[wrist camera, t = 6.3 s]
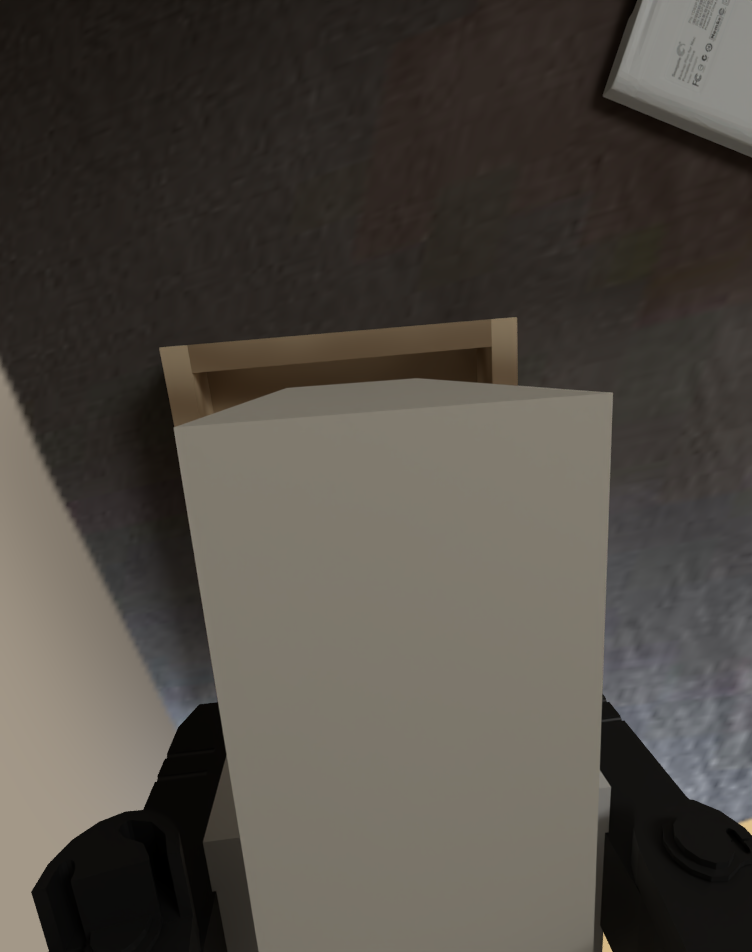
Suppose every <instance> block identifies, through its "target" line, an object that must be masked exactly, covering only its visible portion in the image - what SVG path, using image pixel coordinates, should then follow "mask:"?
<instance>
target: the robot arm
mask: <svg viewBox="0 0 752 952" xmlns="http://www.w3.org/2000/svg"><path fill="white" fill-rule="evenodd" d="M31 893H32V896H33V899H34V903H35V906H36V909H37V913H38V916H39V919H40V922H41V926H42V929H43V932H44V936H45V939H46V942H47V946H48V949H49V952H259V951H258V945H257V939H256V933H255V927H254V920H253V914H252V908H251V902H250V896H249V890H248V883H247V877H246V871H245V865H244V859H243V853H242V846H241V840H240V834H239V828H238V822H237V816H236V809H235V803H234V797H233V791H232V785H231V779H230V773H229V766H228V760H227V754H226V748H225V742H224V736H223V729H222V723H221V717H220V711H219V705H218V702H216V703H208V704H199V706H198V707H197V708H196V709H195V710H194V711H193V712H192V713H191V714H190V715H189V716H188V717H187V719H186V720H185V721H184V722H183V723H182V724H181V725H180V726H179V727H178V729H177V732H176V734H175V736H174V739H173V741H172V744H171V746H170V748H169V751H168V753H167V759H165V760H164V762H163V765H162V767H161V769H160V772H159V774H158V780H157V782H155V783H154V786H153V788H152V790H151V793H150V795H149V797H148V800H147V802H146V804H145V807H144V809H143V810H138V811H128V812H123V813H121V814H118V815H116V816H113V817H111V818H108V819H105V820H103V821H100V822H98V823H97V824H95V825H94V826H92V827H91V828H89V829H88V830H86V831H85V832H83V833H82V834H80V835H79V836H77V837H76V838H74V839H73V840H72V841H71V842H70V843H69V844H68V845H67V846H66V847H65V848H64V849H63V850H62V851H61V852H60V853H59V854H58V855H57V856H56V857H55V858H54V859H53V860H52V861H51V862H50V863H49V864H48V865H47V867H46V869H45V870H44V872H43V874H42V875H41V877H40V879H39V880H38V882H37V883H36V885H35V887H34V888H33V890H32V892H31ZM603 932H604V934H605V936H606V939H607V941H608V943H609V945H610V947H611V949H612V951H613V952H752V835H751V834H750V833H749V832H748V831H747V830H746V829H745V828H744V827H743V826H741V825H740V824H738V823H737V822H735V821H734V820H732V819H731V818H729V817H728V816H727V815H725V814H724V813H722V812H721V811H719V810H716V809H714V808H712V807H709V806H707V805H704V804H702V803H700V802H697V801H695V800H690V799H688V798H687V797H686V796H685V794H684V793H683V792H682V791H681V789H680V788H679V787H678V786H677V785H676V783H675V782H674V781H673V780H672V778H671V777H670V776H669V775H668V774H667V772H666V771H665V770H664V769H663V767H662V766H661V765H660V764H659V763H658V761H657V760H656V759H655V758H654V756H653V755H652V754H651V753H650V751H649V750H648V749H647V748H646V747H645V745H644V744H643V743H642V742H641V740H640V739H639V738H638V737H637V736H636V734H635V733H634V732H633V731H632V729H631V728H630V727H629V726H628V725H627V723H626V722H625V721H622V720H621V717H620V715H619V714H618V712H617V711H616V710H615V709H614V707H613V706H612V705H611V704H610V703H609V702H607V701H606V698H605V696H604V695H603V694H602V717H601V745H600V773H599V802H598V830H597V859H596V887H595V915H594V944H593V952H602V944H603Z"/></svg>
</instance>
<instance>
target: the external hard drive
mask: <svg viewBox="0 0 752 952" xmlns="http://www.w3.org/2000/svg"><path fill="white" fill-rule="evenodd" d="M603 97H605V98H608V99H610V100H612V101H615V102H617V103H620V104H622V105H625V106H627V107H629V108H632V109H634V110H637V111H639V112H641V113H644V114H646V115H649V116H651V117H654V118H656V119H658V120H661V121H663V122H666V123H668V124H671V125H673V126H676V127H678V128H680V129H683V130H685V131H688V132H690V133H692V134H695V135H697V136H700V137H702V138H705V139H707V140H710V141H712V142H715V143H717V144H720V145H722V146H725V147H727V148H730V149H732V150H735V151H737V152H740V153H742V154H744V155H747V156H749V157H752V0H637V2H636V5H635V8H634V10H633V12H632V14H631V16H630V17H629V19H628V22H627V25H626V28H625V31H624V34H623V37H622V40H621V43H620V46H619V48H618V51H617V54H616V57H615V60H614V63H613V66H612V69H611V72H610V75H609V78H608V81H607V84H606V87H605V90H604V92H603Z"/></svg>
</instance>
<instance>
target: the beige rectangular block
mask: <svg viewBox="0 0 752 952" xmlns="http://www.w3.org/2000/svg"><path fill="white" fill-rule="evenodd" d="M612 404H613V393H608V392H595V391H581V390H568V389H555V388H541V387H528V386H515V385H501V384H488V383H475V382H461V381H448V380H435V379H421V378H413V379H400V380H387V381H373V382H360V383H346V384H333V385H319V386H306V387H293V388H285V389H282V390H279V391H277V392H274V393H271V394H268V395H265V396H262V397H259V398H257V399H254V400H251V401H248V402H245V403H242V404H239V405H237V406H234V407H231V408H228V409H225V410H222V411H219V412H216V413H214V414H211V415H208V416H205V417H202V418H199V419H196V420H194V421H191V422H188V423H185V424H182V425H179V426H176V427H174V434H175V440H176V446H177V452H178V458H179V464H180V471H181V477H182V483H183V489H184V495H185V501H186V508H187V514H188V520H189V526H190V532H191V538H192V545H193V551H194V557H195V563H196V569H197V575H198V582H199V588H200V594H201V600H202V606H203V612H204V618H205V625H206V631H207V637H208V643H209V649H210V655H211V662H212V668H213V674H214V680H215V686H216V692H217V699H218V705H219V711H220V717H221V723H222V729H223V736H224V742H225V748H226V754H227V760H228V766H229V773H230V779H231V785H232V791H233V797H234V803H235V809H236V816H237V822H238V828H239V834H240V840H241V846H242V853H243V859H244V865H245V871H246V877H247V883H248V890H249V896H250V902H251V908H252V914H253V920H254V927H255V933H256V939H257V945H258V951H259V952H593V944H594V915H595V887H596V859H597V830H598V802H599V773H600V745H601V717H602V688H603V660H604V631H605V603H606V575H607V546H608V518H609V489H610V461H611V433H612Z"/></svg>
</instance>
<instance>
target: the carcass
mask: <svg viewBox="0 0 752 952" xmlns="http://www.w3.org/2000/svg"><path fill="white" fill-rule="evenodd" d="M159 349H160V354H161V360H162V365H163V370H164V375H165V380H166V385H167V391H168V396H169V401H170V406H171V411H172V417H173V422H174V427H176V426H179V425H182V424H185V423H188V422H191V421H194V420H196V419H199V418H202V417H205V416H208V415H211V414H214V413H216V412H219V411H222V410H225V409H228V408H231V407H234V406H237V405H239V404H242V403H245V402H248V401H251V400H254V399H257V398H259V397H262V396H265V395H268V394H271V393H274V392H277V391H279V390H282V389H285V388H293V387H306V386H319V385H333V384H346V383H360V382H373V381H387V380H400V379H413V378H421V379H435V380H448V381H461V382H475V383H488V384H501V385H515V386H518V372H517V317H513V318H501V319H489V320H478V321H466V322H454V323H442V324H431V325H419V326H407V327H396V328H384V329H372V330H360V331H349V332H337V333H325V334H313V335H302V336H290V337H278V338H266V339H255V340H243V341H231V342H219V343H208V344H196V345H184V346H173V347H161V348H159Z"/></svg>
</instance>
